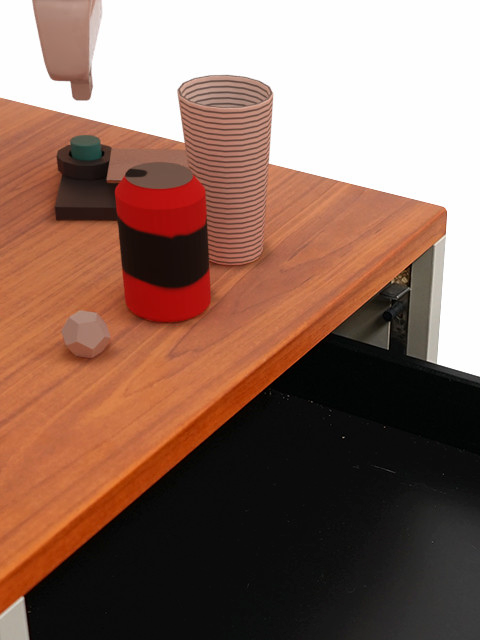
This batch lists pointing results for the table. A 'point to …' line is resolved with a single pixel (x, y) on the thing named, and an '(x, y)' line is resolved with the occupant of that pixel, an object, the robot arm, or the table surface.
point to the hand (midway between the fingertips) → (83, 95)
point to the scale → (85, 188)
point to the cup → (229, 159)
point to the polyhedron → (85, 334)
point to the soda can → (163, 242)
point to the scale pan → (140, 160)
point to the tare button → (85, 147)
